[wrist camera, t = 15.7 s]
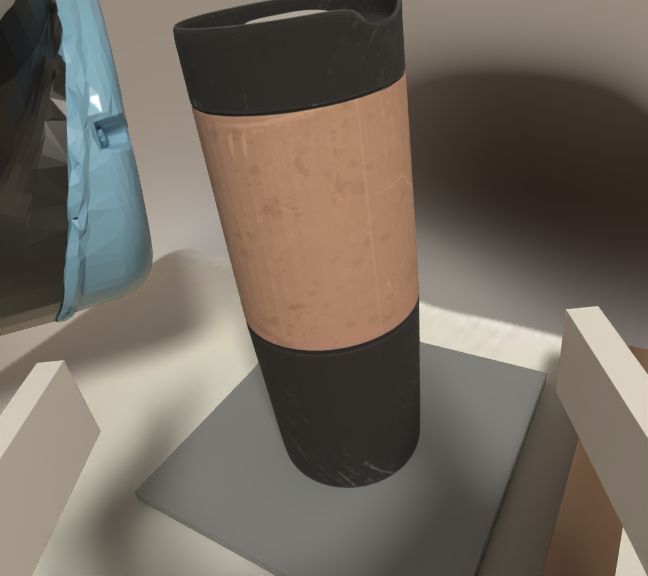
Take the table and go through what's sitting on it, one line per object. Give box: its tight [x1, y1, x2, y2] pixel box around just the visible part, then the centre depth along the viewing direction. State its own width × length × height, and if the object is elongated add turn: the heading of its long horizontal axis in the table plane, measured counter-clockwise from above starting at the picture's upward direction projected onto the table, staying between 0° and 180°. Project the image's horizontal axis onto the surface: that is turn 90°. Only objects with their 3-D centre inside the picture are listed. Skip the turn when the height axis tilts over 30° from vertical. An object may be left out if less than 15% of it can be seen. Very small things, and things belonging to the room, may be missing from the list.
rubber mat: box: [135, 342, 547, 576], centre depth 28 cm, size 16×16×1 cm
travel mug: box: [173, 0, 420, 488], centre depth 23 cm, size 8×8×20 cm
